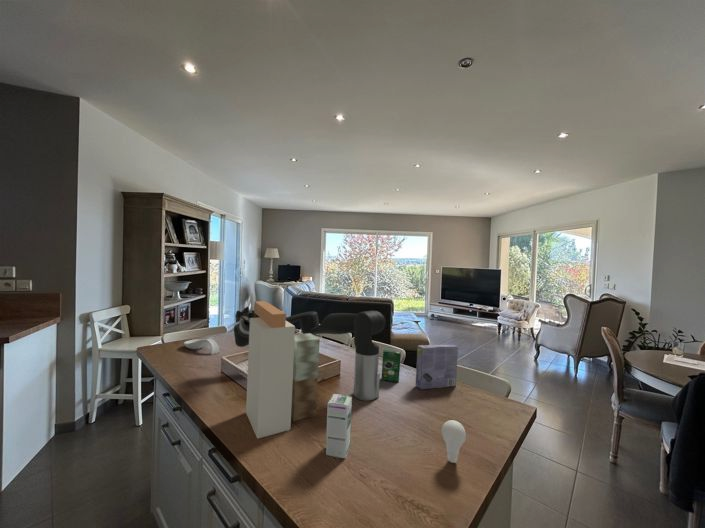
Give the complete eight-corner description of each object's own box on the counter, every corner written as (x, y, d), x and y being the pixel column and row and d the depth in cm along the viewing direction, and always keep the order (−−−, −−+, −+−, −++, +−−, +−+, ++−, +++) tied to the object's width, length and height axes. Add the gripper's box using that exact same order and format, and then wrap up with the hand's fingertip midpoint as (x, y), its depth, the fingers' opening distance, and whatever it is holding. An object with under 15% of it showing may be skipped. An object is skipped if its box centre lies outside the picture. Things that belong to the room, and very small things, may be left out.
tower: (307, 404, 106) (310, 333, 105) (316, 415, 99) (319, 338, 98) (285, 409, 101) (288, 335, 101) (293, 421, 95) (296, 341, 94)
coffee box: (399, 380, 132) (401, 351, 131) (399, 382, 129) (400, 353, 129) (381, 377, 133) (383, 349, 133) (381, 380, 130) (382, 351, 130)
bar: (254, 312, 108) (254, 301, 108) (264, 311, 110) (265, 301, 110) (272, 328, 86) (272, 314, 86) (285, 327, 88) (285, 313, 88)
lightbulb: (436, 454, 81) (438, 415, 81) (458, 454, 82) (460, 415, 82) (445, 470, 75) (447, 428, 75) (468, 470, 76) (470, 428, 76)
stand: (275, 406, 104) (279, 316, 103) (290, 429, 90) (295, 326, 89) (245, 412, 98) (249, 318, 98) (257, 438, 85) (261, 328, 84)
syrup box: (346, 459, 78) (348, 405, 78) (324, 455, 79) (327, 402, 79) (350, 446, 83) (352, 395, 83) (330, 442, 85) (332, 392, 84)
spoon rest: (178, 348, 161) (179, 335, 161) (199, 343, 171) (199, 331, 171) (205, 357, 149) (206, 343, 149) (225, 351, 160) (226, 338, 160)
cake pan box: (451, 381, 133) (453, 342, 132) (458, 386, 128) (461, 346, 128) (414, 385, 127) (416, 345, 126) (420, 390, 122) (422, 348, 122)
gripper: (231, 314, 117) (238, 299, 105) (267, 313, 124) (278, 298, 112) (232, 333, 114) (240, 319, 102) (269, 330, 121) (280, 317, 109)
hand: (259, 308), depth 107 cm, fingers open, 8 cm apart
